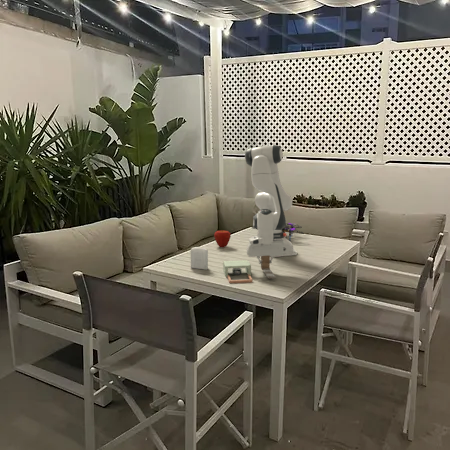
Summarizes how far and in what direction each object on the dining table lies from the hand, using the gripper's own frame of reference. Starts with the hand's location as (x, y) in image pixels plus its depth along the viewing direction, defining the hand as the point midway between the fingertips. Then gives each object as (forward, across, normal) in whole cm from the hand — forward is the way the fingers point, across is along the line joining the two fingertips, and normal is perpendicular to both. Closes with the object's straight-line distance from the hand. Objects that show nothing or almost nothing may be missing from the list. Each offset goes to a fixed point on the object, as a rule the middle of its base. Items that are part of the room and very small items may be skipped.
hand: (265, 263), depth 250 cm
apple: (+6, +17, -58) cm, 61 cm away
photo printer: (+5, +36, -12) cm, 38 cm away
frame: (+4, +16, +11) cm, 20 cm away
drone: (+7, -30, -79) cm, 84 cm away
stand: (+5, +16, 0) cm, 17 cm away
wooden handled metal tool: (+3, 0, +7) cm, 8 cm away
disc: (+5, +16, 0) cm, 17 cm away
